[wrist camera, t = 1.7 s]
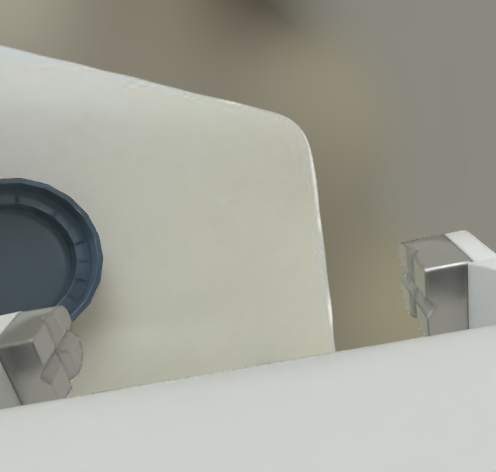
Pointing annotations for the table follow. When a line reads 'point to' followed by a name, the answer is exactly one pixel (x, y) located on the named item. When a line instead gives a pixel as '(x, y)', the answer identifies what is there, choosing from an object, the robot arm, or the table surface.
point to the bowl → (45, 249)
